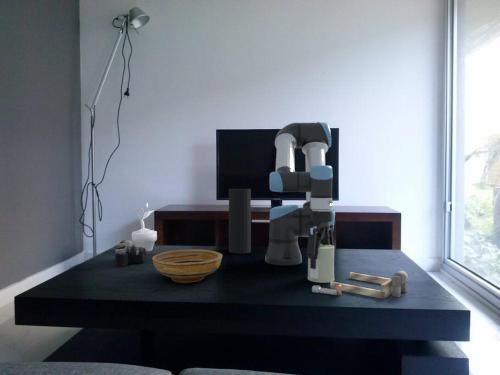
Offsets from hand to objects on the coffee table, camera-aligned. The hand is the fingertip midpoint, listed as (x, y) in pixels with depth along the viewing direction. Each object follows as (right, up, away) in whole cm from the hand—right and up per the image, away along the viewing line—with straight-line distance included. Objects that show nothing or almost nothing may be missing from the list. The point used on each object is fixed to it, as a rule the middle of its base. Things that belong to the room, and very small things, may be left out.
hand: (320, 274), depth 129 cm
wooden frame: (+14, -2, -11) cm, 18 cm away
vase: (-29, -1, +45) cm, 54 cm away
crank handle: (-1, -2, -16) cm, 16 cm away
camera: (-73, -1, +22) cm, 76 cm away
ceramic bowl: (-46, -2, +1) cm, 46 cm away
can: (0, -2, 0) cm, 2 cm away
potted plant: (-74, -1, +47) cm, 88 cm away
